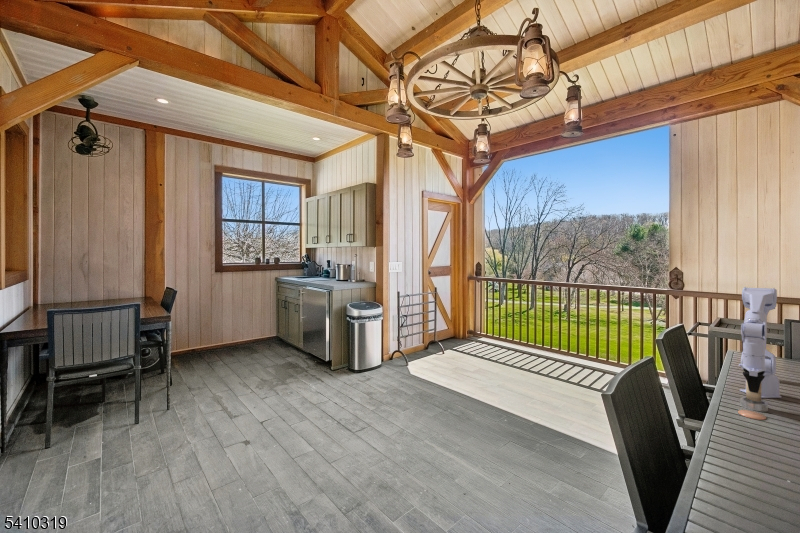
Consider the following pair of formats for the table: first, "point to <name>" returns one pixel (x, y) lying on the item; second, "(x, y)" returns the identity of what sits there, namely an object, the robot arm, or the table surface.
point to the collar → (754, 405)
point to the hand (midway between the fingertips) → (753, 390)
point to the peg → (753, 394)
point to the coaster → (752, 414)
